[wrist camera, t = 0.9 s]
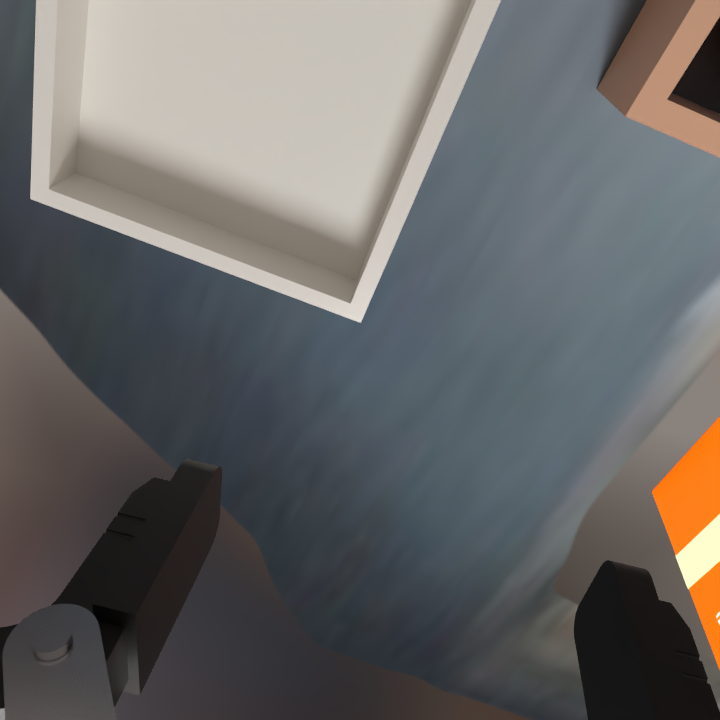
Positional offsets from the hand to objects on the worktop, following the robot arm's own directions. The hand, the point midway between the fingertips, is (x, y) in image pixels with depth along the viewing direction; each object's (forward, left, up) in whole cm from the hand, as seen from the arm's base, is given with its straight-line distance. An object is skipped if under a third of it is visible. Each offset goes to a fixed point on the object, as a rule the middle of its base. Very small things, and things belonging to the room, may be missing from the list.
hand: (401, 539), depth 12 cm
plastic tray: (-3, -10, -26) cm, 29 cm away
